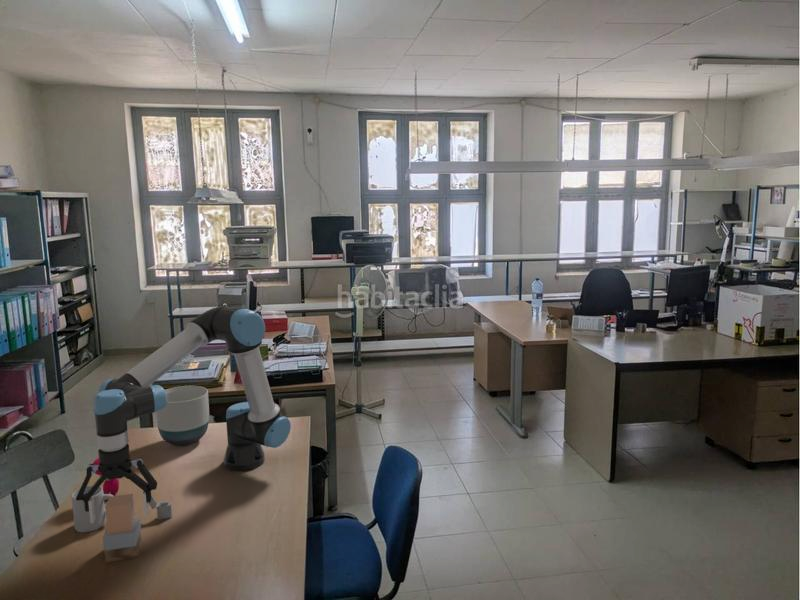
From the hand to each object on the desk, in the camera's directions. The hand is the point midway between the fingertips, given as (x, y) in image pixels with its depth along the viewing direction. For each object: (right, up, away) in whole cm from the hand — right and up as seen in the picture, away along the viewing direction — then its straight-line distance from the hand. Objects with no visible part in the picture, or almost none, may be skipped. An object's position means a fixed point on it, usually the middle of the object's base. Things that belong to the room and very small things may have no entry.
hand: (120, 516), depth 154 cm
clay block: (0, -3, +1) cm, 3 cm away
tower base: (0, -11, +2) cm, 11 cm away
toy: (-19, -6, +31) cm, 37 cm away
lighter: (+3, -8, +19) cm, 20 cm away
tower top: (0, -7, +1) cm, 7 cm away
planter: (-11, +1, +74) cm, 74 cm away
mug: (-15, -9, +15) cm, 23 cm away
